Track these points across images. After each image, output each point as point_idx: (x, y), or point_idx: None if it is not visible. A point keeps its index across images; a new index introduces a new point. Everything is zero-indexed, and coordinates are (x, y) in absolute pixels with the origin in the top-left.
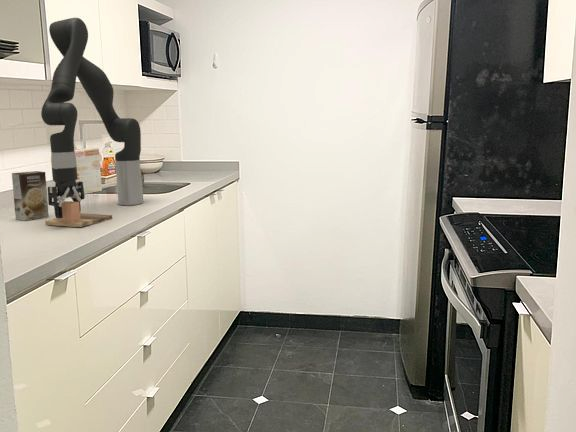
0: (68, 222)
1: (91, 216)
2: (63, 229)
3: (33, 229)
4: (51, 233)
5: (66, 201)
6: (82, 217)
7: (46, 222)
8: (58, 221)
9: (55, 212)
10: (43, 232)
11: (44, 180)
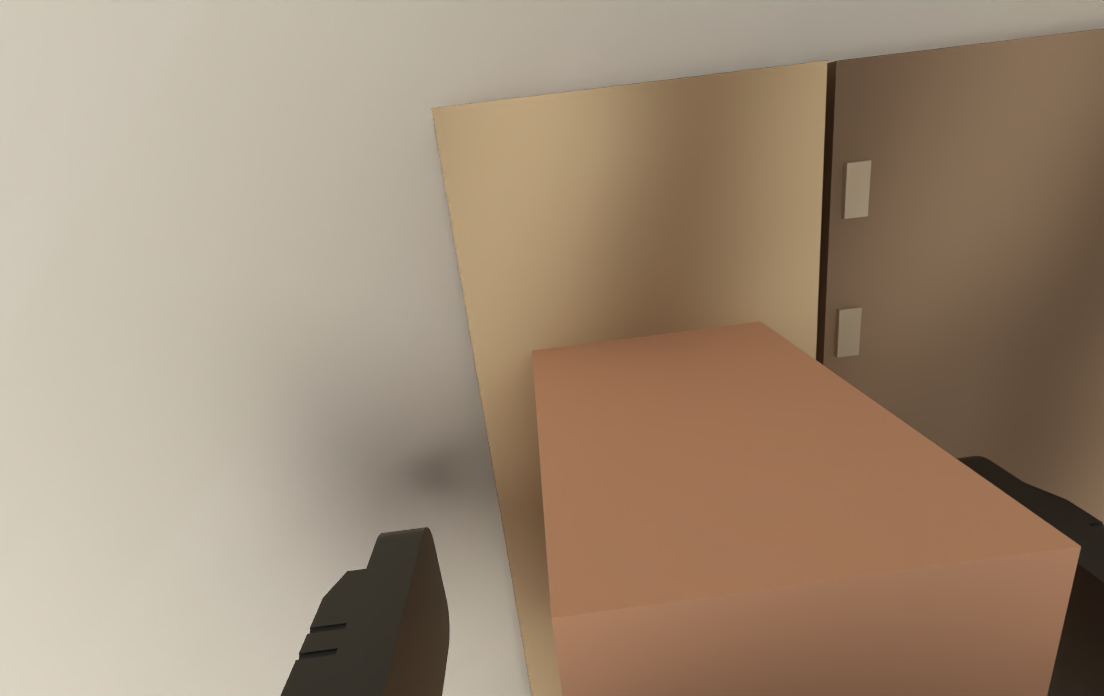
0: (531, 589)
1: (1101, 485)
2: None
3: (120, 177)
4: (137, 638)
5: (997, 685)
6: (1004, 418)
7: (439, 145)
8: (526, 387)
9: (305, 668)
10: (101, 507)
11: None
